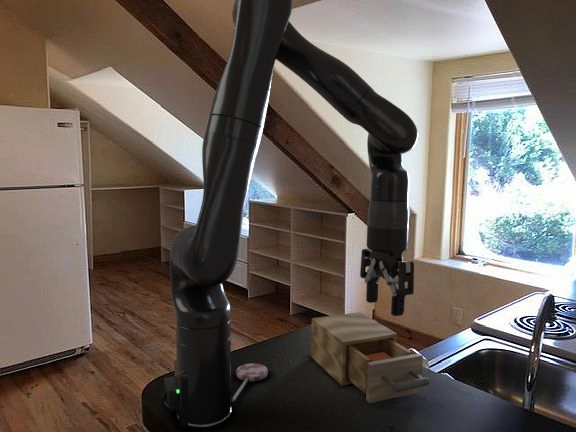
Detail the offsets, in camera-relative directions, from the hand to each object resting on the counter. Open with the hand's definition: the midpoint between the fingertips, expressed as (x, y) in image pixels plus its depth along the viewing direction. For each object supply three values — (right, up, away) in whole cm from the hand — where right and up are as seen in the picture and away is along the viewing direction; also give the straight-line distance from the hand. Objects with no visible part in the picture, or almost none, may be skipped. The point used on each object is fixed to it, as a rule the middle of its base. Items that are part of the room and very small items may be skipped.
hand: (383, 308), depth 91 cm
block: (0, -14, +2) cm, 15 cm away
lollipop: (-27, -16, +4) cm, 31 cm away
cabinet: (-5, -15, +13) cm, 20 cm away
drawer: (0, -16, +1) cm, 16 cm away
